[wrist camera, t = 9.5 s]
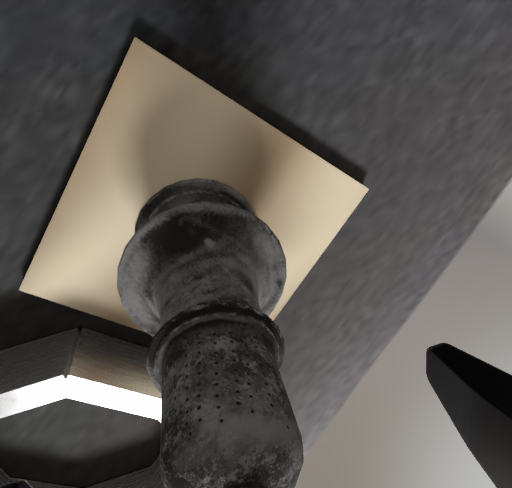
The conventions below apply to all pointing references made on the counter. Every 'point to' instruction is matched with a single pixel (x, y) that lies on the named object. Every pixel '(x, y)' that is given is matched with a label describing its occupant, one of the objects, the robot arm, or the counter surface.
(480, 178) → the counter surface
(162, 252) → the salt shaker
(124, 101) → the beige pad
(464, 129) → the counter surface
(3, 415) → the white octagonal ring
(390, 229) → the counter surface
